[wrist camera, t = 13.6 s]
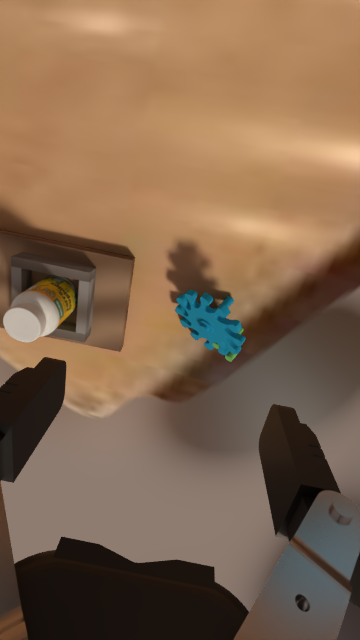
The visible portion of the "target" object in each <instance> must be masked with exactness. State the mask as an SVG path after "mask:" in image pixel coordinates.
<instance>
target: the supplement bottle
mask: <svg viewBox="0 0 360 640" xmlns="http://www.w3.org/2000/svg"><path fill="white" fill-rule="evenodd" d="M77 304H78V292H77V289H76V288H75V286H74V285H73V284H72V283H71V282H70V281H69V280H67V279H65V278H63V277H60V276H49V277H47V278H45V279H43V280H42V281H40V282H38V283H37V284H35V285H33V286H32V287H30V288H29V289H27V290H26V291H24V292H22V293H21V294H19V295H18V296H17V297H16V298H15V299H14V300H13V302H12V304H11V308H10V309H9V310H8V311H7V312H6V313H5V315H4V317H3V325H4V328H5V330H6V331H7V333H8V334H9V335H10V336H11V337H13V338H14V339H16V340H18V341H21V342H31V341H34V340H36V339H37V338H38V337H41V336H46V335H48V334H50V333H52V332H53V331H54V330H55V329H56V328H57V327H58V326H59V325H60V324H61V323H62V322H63V321H64V320H65V319H66V318H67V317H68V316H69V315H70V314H71V313H72V312H73V311H74V310H75V308H76V307H77Z"/></svg>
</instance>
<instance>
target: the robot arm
mask: <svg viewBox="0 0 360 640" xmlns="http://www.w3.org/2000/svg"><path fill="white" fill-rule="evenodd" d="M65 380H66V362H65V361H62V360H57V359H52V358H48V357H44V358H43V359H42V360H41V361H40V362H39V363H38V365H37V366H36V367H35V368H29V367H27V368H25V369H23V370H21V371H19V372H17V373H15V374H13V375H12V376H11V378H9V380H7V381H6V383H5V384H3V386H1V388H0V481H1V480H4V481H8V482H14V481H15V479H16V478H17V476H18V475H19V473H20V472H21V470H22V468H23V467H24V465H25V464H26V462H27V461H28V459H29V457H30V456H31V454H32V453H33V451H34V450H35V448H36V447H37V445H38V443H39V442H40V440H41V439H42V437H43V435H44V434H45V432H46V431H47V429H48V428H49V426H50V425H51V423H52V421H53V420H54V418H55V417H56V415H57V414H58V412H59V410H60V409H61V406H62V404H63V400H64V396H65ZM259 453H260V459H261V464H262V469H263V473H264V479H265V484H266V489H267V494H268V499H269V504H270V509H271V514H272V519H273V524H274V529H275V534H276V536H278V537H283V538H287V539H289V544H288V546H287V548H286V550H285V551H284V553H283V555H282V556H281V558H280V560H279V561H278V563H277V565H276V567H275V568H274V570H273V572H272V574H271V576H270V577H269V579H268V581H267V582H266V584H265V586H264V587H263V589H262V591H261V593H260V594H259V596H258V598H257V600H256V601H255V603H254V605H253V607H252V608H251V610H250V612H249V611H248V610H247V609H246V608H245V606H244V605H243V604H242V603H241V602H240V601H239V600H238V599H237V598H236V597H235V596H234V595H233V594H232V593H231V592H230V591H228V590H227V589H225V588H224V587H222V586H221V585H220V584H218V583H216V582H215V581H214V567H210V566H206V565H201V564H196V563H191V562H186V561H181V560H168V561H158V562H146V563H134V562H132V561H130V560H128V559H126V558H124V557H123V556H121V555H119V554H117V553H115V552H113V551H111V550H109V549H107V548H105V547H103V546H102V545H100V544H95V543H90V542H85V541H80V540H75V539H70V538H65V537H61V539H60V541H59V544H58V546H57V549H56V550H52V551H46V552H42V553H38V554H35V555H32V556H29V557H27V558H25V559H23V560H21V561H18V562H17V563H15V564H14V560H13V554H12V548H11V542H10V536H9V530H8V524H7V518H6V512H5V506H4V500H3V494H2V488H1V482H0V640H336V639H337V636H338V633H339V630H340V627H341V623H342V621H343V617H344V614H345V611H346V608H347V605H348V602H349V601H350V602H351V603H353V604H355V605H357V606H358V607H360V508H359V507H358V506H357V505H356V504H355V503H354V502H353V501H352V500H350V499H349V498H348V497H346V496H344V495H343V494H341V492H340V490H339V488H338V486H337V483H336V481H335V479H334V476H333V474H332V472H331V469H330V467H329V465H328V462H327V460H326V459H325V455H324V453H323V451H322V449H321V446H320V444H319V442H318V439H317V437H316V435H315V434H314V433H313V432H312V431H311V429H310V428H309V427H308V426H307V425H306V424H302V423H300V421H299V419H298V416H297V414H296V411H295V409H294V408H291V407H286V406H280V405H275V404H273V405H272V407H271V408H270V411H269V414H268V416H267V419H266V422H265V424H264V427H263V429H262V432H261V435H260V439H259Z"/></svg>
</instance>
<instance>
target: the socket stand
mask: <svg viewBox="0 0 360 640" xmlns="http://www.w3.org/2000/svg"><path fill="white" fill-rule="evenodd" d="M134 261H135V257H130V256H125V255H120V254H115V253H110V252H105V251H101V250H96V249H91V248H86V247H81V246H76V245H72V244H67V243H62V242H57V241H52V240H47V239H43V238H38V237H33V236H28V235H23V234H18V233H13V232H9V231H4V230H0V327H1V328H4V325H3V317H4V315H5V313H6V312H7V311H8V310H9V309H10V308H11V304H12V302H13V300H14V299H15V298H16V297H17V296H18V295H19V294H21V293H22V292H24V291H26V290H27V289H29V288H30V287H32V286H33V285H35V284H37V283H38V282H40V281H42V280H43V279H45V278H47V277H49V276H60V277H63V278H65V279H67V280H69V281H70V282H71V283H72V284H73V285H74V286H75V288H76V289H77V292H78V304H77V307H76V308H75V310H74V311H73V312H72V313H71V314H70V315H69V316H68V317H67V318H66V319H65V320H64V321H63V322H62V323H61V324H60V325H59V326H58V327H57V328H56V329H55V330H54V331H53V332H52V333H50V334H48V335H46V336H45V337H50V338H55V339H60V340H65V341H70V342H75V343H80V344H85V345H90V346H95V347H99V348H104V349H109V350H114V351H119V352H120V351H121V349H122V347H123V343H124V335H125V328H126V320H127V313H128V306H129V298H130V291H131V283H132V276H133V268H134Z"/></svg>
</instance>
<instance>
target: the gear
mask: <svg viewBox="0 0 360 640" xmlns="http://www.w3.org/2000/svg"><path fill="white" fill-rule="evenodd" d="M197 297H198V294H197V292H196V291H194V290H188V291H187V292H186V293H185V294H181V295H180V296H179V297H178V298H177V299H176V301H177V302H178V303H179V305H178V306H177V307H176V309H175V311H176V313H178V314H179V315H182V316H184V317H183V318H182V319H181V320H180V321H181V324H182V326H184V327H190V328H192V329H194V330H193V331H192V332H191V335H192V337H193V338H194V339H195V340H198V339H199V338H206V339H207V341H206V342H205V343H204V346H205V347H207V348H208V349H209V350H212V349H213V348H214V347H215V348H216V349H218V352H219V353H221V354H223V355H226V356H225V358H226V359H227V360H228V361H230V362H231V361H232V360H233V359H234V358H235V356H236V355H237V353H239V351H240V350H241V347H240V346H241V345H242V344H243V342H244V341H245V339H246V338H245V337H244V336H243V335H241V333H242V332H243V328H242V327H241V323H240V321H238V320H229V319H226V317H227V316H228V314H229V313H230V310H229V309H228V307H229V306H230V305H231V304H232V303H233V302H234V300H233V298H232V297H230V296H228V297H227V298H226V299H225V300H224V301H223V302H222V303H221V304H220V305H219V307H218V308H211V307H209V305H210V304H211V303H212V302H213V300H214V299H213V297H212V296H210V295H209V294H207V293H204V294H203V295H202V296H201V297H200V301H201V304H199V303H198V302H197V300H196V298H197ZM188 301H189V302H188Z"/></svg>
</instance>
